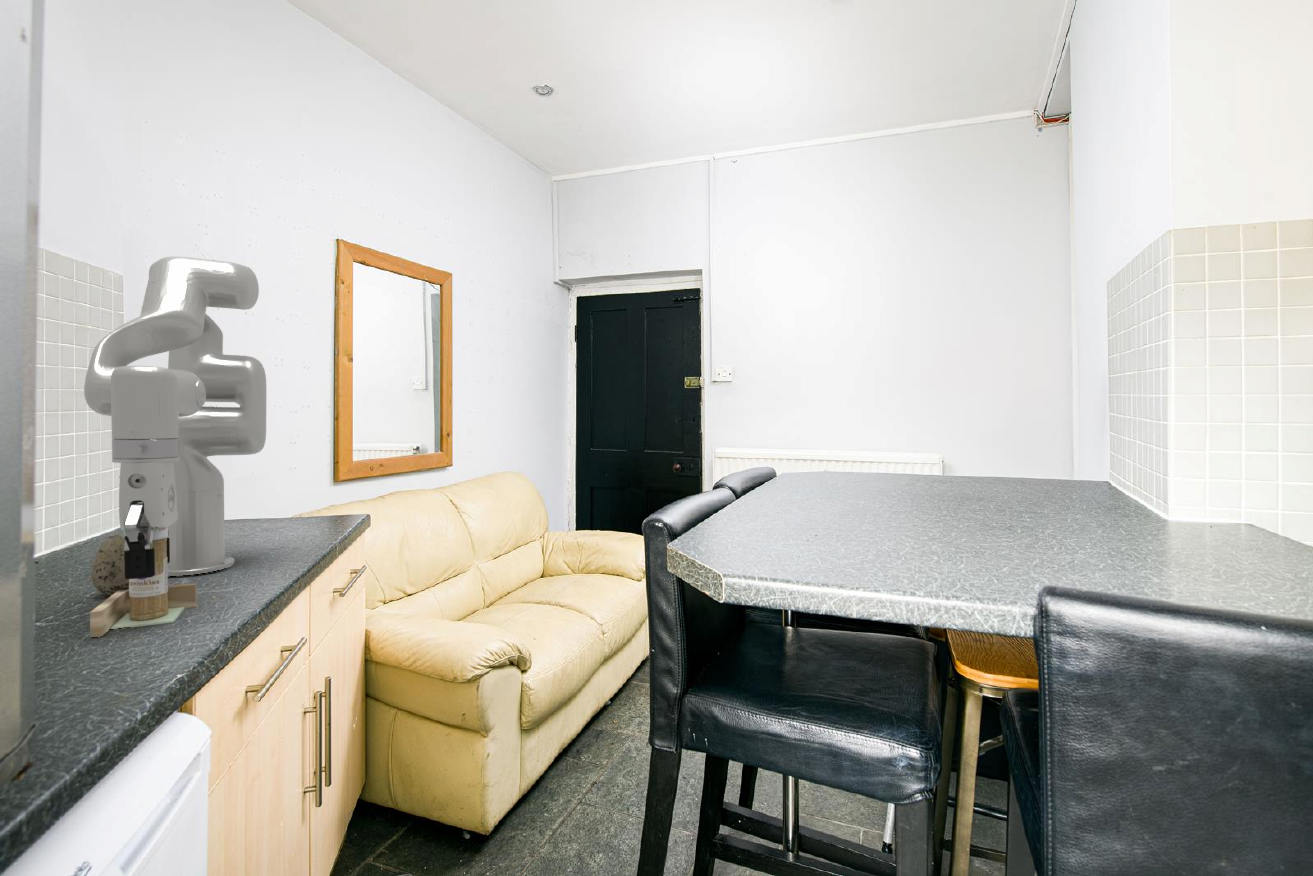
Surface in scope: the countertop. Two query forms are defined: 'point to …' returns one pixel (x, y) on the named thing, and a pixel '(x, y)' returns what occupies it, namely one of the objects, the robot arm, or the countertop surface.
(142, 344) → the robot arm
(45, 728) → the countertop surface
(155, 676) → the countertop surface
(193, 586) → the corner walls
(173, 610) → the pad
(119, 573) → the decorative egg
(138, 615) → the sprinkles bottle
